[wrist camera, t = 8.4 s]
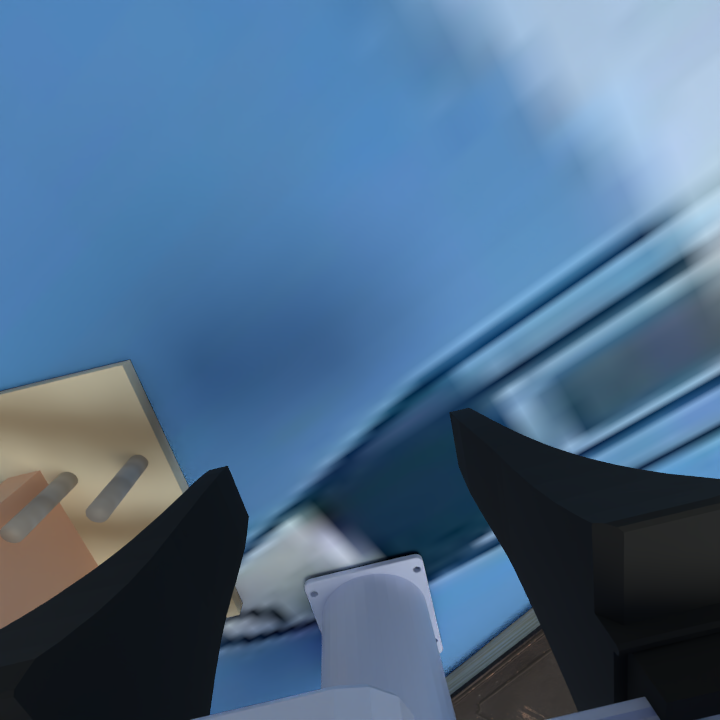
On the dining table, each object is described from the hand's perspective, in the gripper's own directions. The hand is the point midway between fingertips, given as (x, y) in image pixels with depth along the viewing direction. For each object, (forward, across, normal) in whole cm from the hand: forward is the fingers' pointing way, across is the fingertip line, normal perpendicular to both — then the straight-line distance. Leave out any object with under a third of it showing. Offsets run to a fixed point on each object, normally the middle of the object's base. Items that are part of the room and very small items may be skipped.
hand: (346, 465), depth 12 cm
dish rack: (+9, +18, +6) cm, 21 cm away
